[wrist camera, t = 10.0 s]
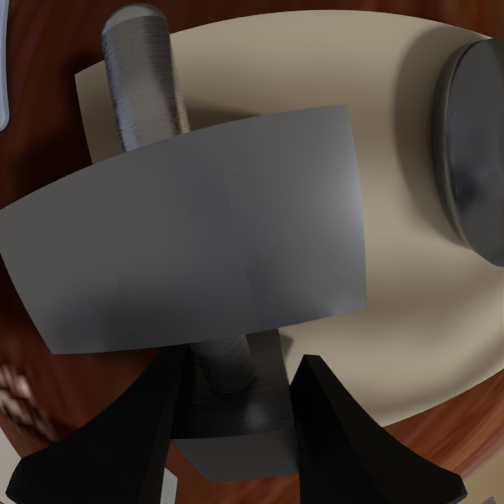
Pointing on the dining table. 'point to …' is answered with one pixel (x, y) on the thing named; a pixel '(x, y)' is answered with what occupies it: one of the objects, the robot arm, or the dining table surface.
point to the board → (371, 186)
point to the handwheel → (472, 146)
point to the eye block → (195, 236)
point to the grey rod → (211, 351)
